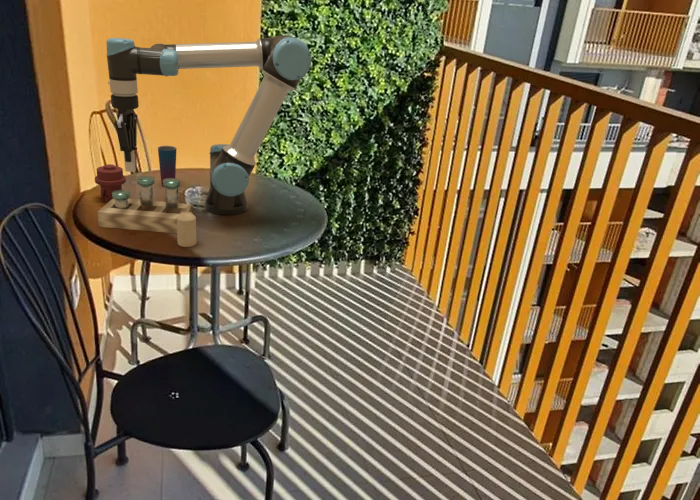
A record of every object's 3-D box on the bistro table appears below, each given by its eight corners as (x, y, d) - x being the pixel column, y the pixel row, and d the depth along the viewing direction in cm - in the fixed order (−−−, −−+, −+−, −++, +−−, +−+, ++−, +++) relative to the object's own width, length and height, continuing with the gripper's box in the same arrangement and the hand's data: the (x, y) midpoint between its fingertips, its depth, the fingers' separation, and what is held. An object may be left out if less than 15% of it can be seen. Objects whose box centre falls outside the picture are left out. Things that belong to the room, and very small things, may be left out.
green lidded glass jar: (157, 201, 176) (156, 176, 173) (152, 207, 172) (151, 181, 168) (141, 200, 176) (140, 175, 173) (136, 205, 171) (134, 179, 168)
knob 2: (182, 203, 177) (181, 179, 174) (178, 209, 172) (177, 183, 169) (166, 202, 177) (165, 177, 173) (161, 207, 172) (160, 182, 168)
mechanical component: (132, 197, 195) (116, 206, 186) (107, 193, 197) (90, 201, 188) (130, 164, 190) (114, 171, 181) (105, 160, 192) (87, 167, 183)
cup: (174, 189, 209) (173, 151, 203) (156, 187, 209) (155, 149, 202) (179, 183, 215) (178, 146, 209) (162, 182, 215) (161, 144, 209)
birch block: (193, 218, 184) (192, 204, 182) (182, 233, 171) (182, 219, 169) (115, 211, 182) (114, 197, 180) (98, 226, 169) (97, 211, 167)
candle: (186, 248, 161) (185, 217, 157) (173, 243, 164) (172, 212, 160) (200, 243, 166) (199, 213, 162) (187, 238, 168) (186, 208, 164)
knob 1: (133, 215, 178) (132, 190, 175) (128, 220, 173) (126, 195, 170) (117, 213, 178) (115, 189, 174) (111, 219, 173) (109, 194, 170)
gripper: (119, 89, 165) (125, 164, 175) (102, 96, 154) (110, 176, 163) (144, 92, 166) (149, 166, 176) (129, 98, 154) (135, 177, 164)
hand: (130, 170), depth 169 cm, fingers closed
